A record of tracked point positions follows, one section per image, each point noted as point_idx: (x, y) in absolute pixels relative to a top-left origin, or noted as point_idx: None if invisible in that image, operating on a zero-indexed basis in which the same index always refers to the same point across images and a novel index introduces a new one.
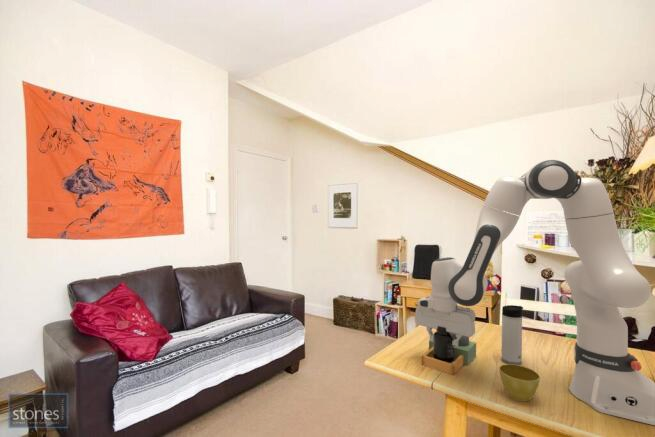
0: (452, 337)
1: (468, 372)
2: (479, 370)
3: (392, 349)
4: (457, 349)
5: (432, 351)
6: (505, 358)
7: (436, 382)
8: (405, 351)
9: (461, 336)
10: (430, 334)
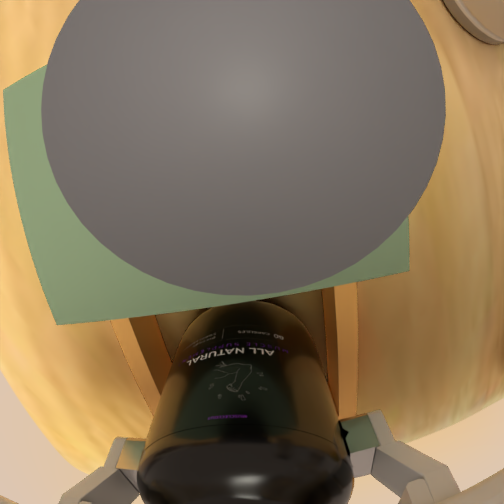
0: (350, 497)
1: (393, 312)
2: (429, 240)
3: (6, 362)
4: (314, 284)
5: (144, 346)
6: (486, 29)
7: None
8: (34, 344)
9: (443, 471)
10: (132, 499)
